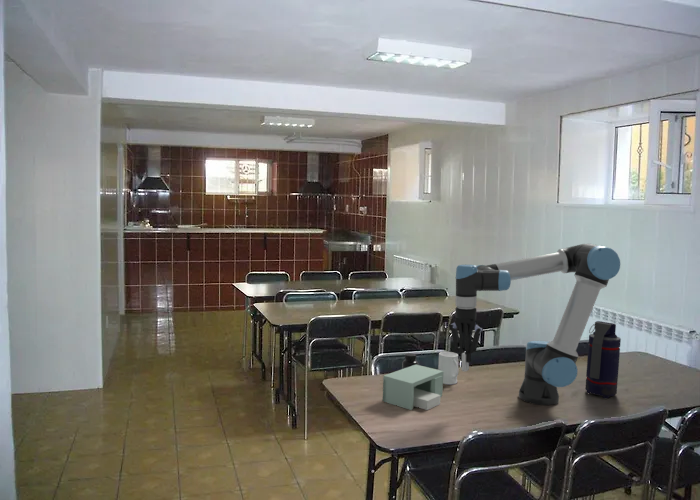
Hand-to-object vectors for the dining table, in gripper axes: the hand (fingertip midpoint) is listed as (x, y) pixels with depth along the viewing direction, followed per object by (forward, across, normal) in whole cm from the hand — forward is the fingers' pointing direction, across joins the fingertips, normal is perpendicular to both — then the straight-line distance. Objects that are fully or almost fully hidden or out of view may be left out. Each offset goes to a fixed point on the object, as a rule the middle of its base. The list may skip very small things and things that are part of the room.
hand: (465, 370), depth 215 cm
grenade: (+18, -32, -56) cm, 67 cm away
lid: (+14, +17, +6) cm, 23 cm away
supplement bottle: (+15, +33, -13) cm, 38 cm away
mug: (+15, +21, -25) cm, 36 cm away
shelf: (+14, +20, +3) cm, 25 cm away
